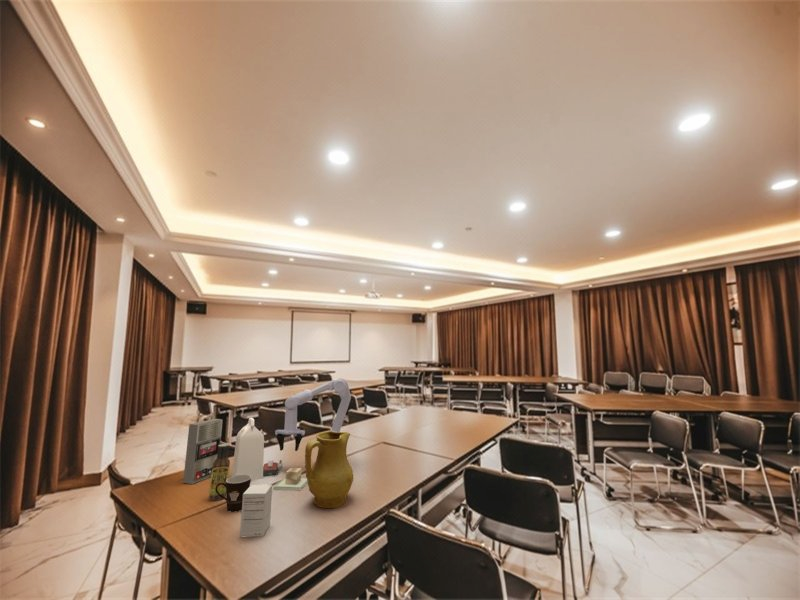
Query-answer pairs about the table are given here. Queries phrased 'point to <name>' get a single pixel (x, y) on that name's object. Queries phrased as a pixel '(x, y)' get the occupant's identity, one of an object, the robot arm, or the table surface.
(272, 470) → the walkie-talkie
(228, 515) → the table surface
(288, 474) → the beech cube
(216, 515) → the table surface
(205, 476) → the cassette tape recorder
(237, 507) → the coffee mug
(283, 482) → the sage tile
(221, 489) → the sauce bottle
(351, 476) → the pitcher
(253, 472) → the milk
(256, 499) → the supplement box
